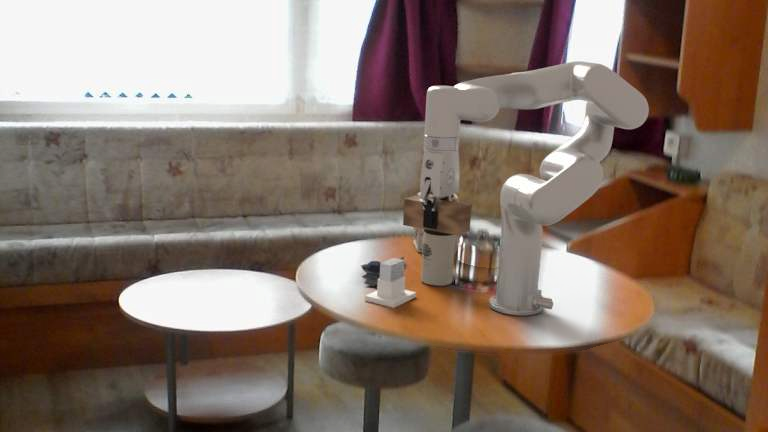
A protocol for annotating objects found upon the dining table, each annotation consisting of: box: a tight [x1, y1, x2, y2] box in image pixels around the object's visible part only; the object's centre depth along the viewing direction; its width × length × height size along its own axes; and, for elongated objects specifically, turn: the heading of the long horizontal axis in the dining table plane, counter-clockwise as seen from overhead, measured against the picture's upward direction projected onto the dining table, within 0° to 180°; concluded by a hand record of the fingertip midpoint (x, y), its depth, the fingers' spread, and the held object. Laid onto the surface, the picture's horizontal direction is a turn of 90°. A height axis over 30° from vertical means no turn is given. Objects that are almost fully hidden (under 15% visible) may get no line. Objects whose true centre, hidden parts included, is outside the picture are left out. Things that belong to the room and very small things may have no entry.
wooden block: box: [402, 194, 472, 237], centre depth 192 cm, size 14×5×6 cm, turn 59°
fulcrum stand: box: [364, 257, 417, 309], centre depth 206 cm, size 8×10×9 cm
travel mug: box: [420, 229, 455, 287], centre depth 220 cm, size 8×8×18 cm
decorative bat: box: [360, 255, 405, 289], centre depth 224 cm, size 30×4×10 cm
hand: (436, 224), depth 192 cm, fingers closed on wooden block, 5 cm apart
